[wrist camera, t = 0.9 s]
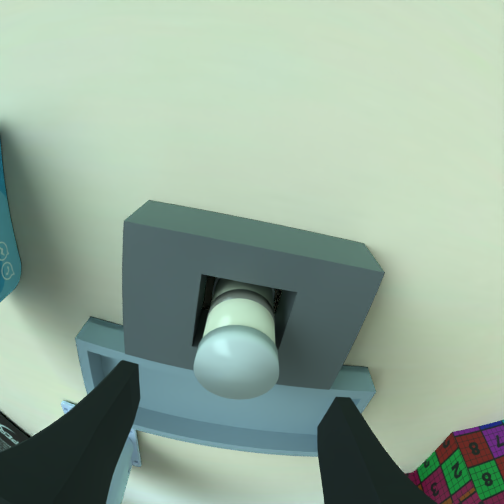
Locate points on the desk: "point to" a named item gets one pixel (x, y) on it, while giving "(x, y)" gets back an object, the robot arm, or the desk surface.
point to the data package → (7, 244)
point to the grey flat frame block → (248, 271)
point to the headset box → (9, 434)
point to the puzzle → (465, 467)
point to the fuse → (238, 342)
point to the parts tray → (218, 401)
